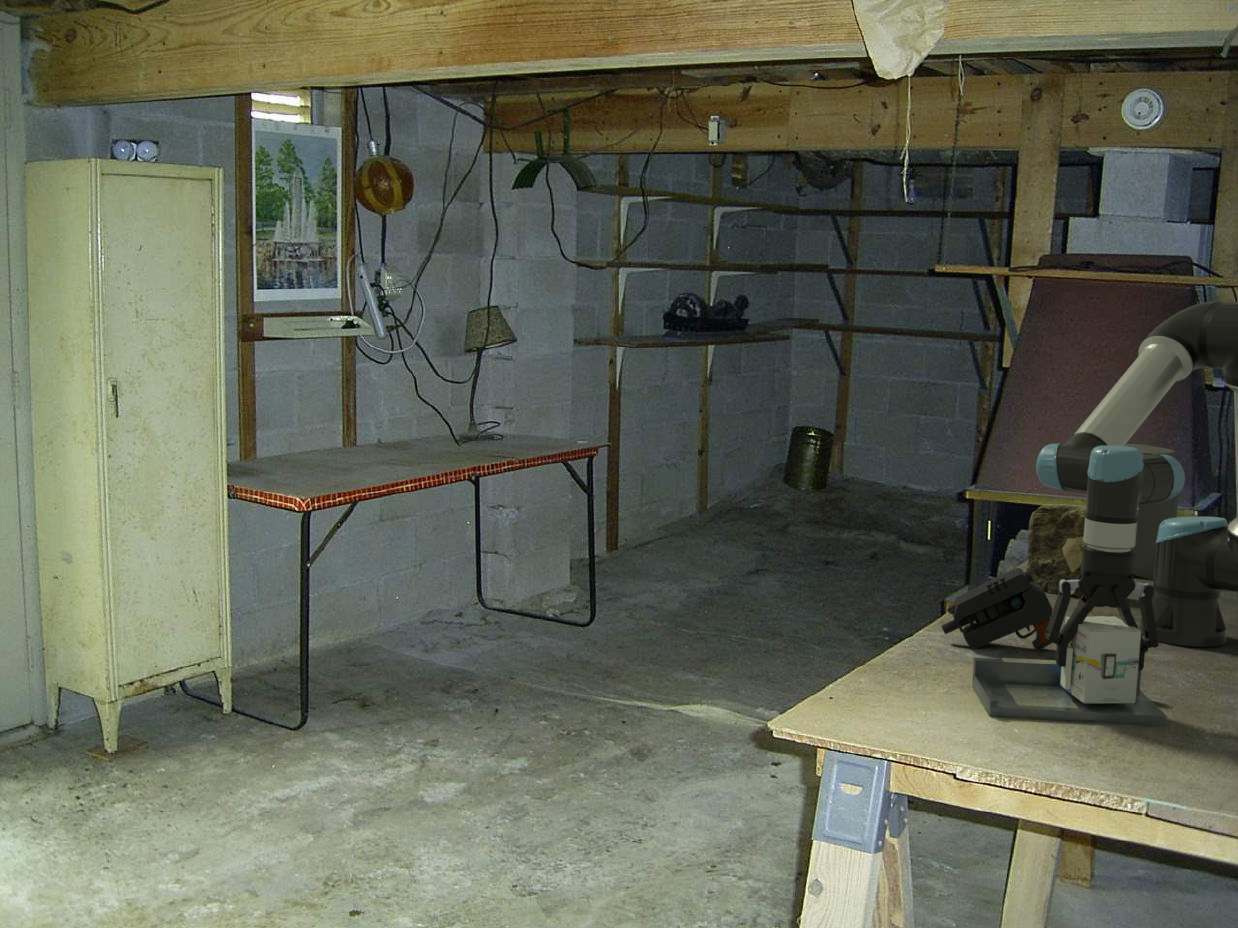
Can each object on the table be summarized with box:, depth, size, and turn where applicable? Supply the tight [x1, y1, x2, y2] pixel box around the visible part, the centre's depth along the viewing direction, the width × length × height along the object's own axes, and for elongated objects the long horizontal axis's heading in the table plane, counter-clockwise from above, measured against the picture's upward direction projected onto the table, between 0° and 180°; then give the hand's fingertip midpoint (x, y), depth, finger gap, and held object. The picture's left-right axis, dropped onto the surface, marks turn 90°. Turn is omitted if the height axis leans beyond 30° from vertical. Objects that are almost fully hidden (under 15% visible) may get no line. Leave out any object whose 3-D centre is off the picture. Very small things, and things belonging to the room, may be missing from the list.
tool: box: [940, 567, 1061, 653], centre depth 222 cm, size 6×19×15 cm
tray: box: [971, 657, 1168, 727], centre depth 191 cm, size 26×14×5 cm, turn 85°
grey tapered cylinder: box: [1085, 443, 1180, 579], centre depth 289 cm, size 20×20×30 cm
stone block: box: [1025, 503, 1087, 598], centre depth 264 cm, size 18×9×20 cm, turn 68°
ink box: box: [1060, 615, 1142, 703], centre depth 189 cm, size 8×8×12 cm
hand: (1097, 687), depth 190 cm, fingers closed on ink box, 9 cm apart
